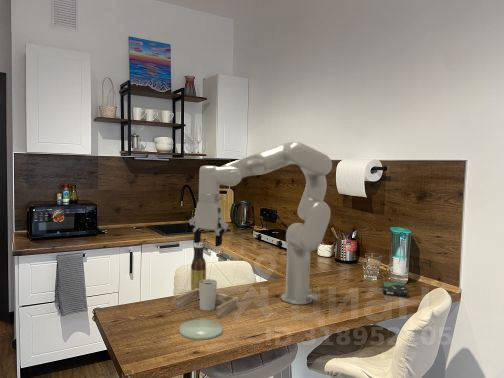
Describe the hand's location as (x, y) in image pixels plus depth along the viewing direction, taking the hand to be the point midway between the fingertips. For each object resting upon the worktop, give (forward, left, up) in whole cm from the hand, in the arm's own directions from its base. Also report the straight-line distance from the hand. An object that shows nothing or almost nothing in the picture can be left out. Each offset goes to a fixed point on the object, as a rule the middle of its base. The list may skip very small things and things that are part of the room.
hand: (207, 244), depth 151 cm
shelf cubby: (-1, 0, -24) cm, 24 cm away
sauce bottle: (+12, -12, -25) cm, 30 cm away
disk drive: (-59, -64, -25) cm, 90 cm away
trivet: (-11, +18, -24) cm, 32 cm away
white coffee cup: (-1, 0, -25) cm, 25 cm away
